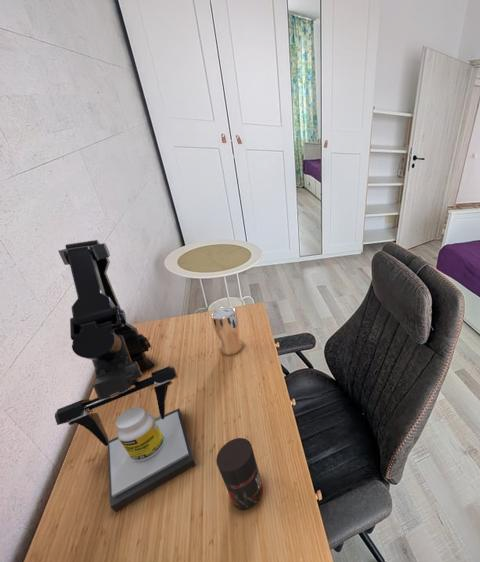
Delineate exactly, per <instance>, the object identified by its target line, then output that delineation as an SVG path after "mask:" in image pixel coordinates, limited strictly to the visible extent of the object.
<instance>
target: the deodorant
mask: <svg viewBox="0 0 480 562" xmlns="http://www.w3.org/2000/svg"><path fill="white" fill-rule="evenodd" d="M215 461H216V466H217V468H218V471H219V474H220V475H221V478H222V481H223V484H224V485H225V489H226V490H227V492H228V494H229V497H230V500H231V502H232V504H233V506H234V508H235V509H236V510H239V511H247V510H250V509H251V508H253V507H254V506H255V505H256V504H258V502H259V501H260V500H261V497H262V496H263V492H264V486H263V481H262V478H261V475H260V470H259V467H258V464H257V460H256V456H255V453H254V449H253V446H252V443H251V441H249V439H247V438H244V437H238V438H233V439H231V440H229V441H228V442H226V443H225V444H224V445H223V446H221V448H220V449H219V451H218V452H217V455H216V459H215Z"/></svg>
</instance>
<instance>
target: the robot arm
mask: <svg viewBox="0 0 480 562" xmlns="http://www.w3.org/2000/svg"><path fill="white" fill-rule="evenodd" d="M57 252H58V254H59V256H60V259H61V260H62V262H63V265H64V266H67V265H69V266H70V270H71V275H72V279H73V284H74V288H75V292H76V297H77V299H76V300H75V301H74V303H73V304H72V305H71V313H72V314H71V315H72V317H70V318H69V327H70V330H69V331H70V340H71V341H72V344H71V349H72V351H73V353H74V354H75V355H76V356H78V357H80V358H83V359H87V360H91V362H92V365H93V368H94V372H95V376H96V378H95V379H94V381H93V383H92V387H93V389H94V391H95V394H96V396H97V397H96V398H94V399H90V398H88V399H87V398H86V399H81V400H78V401H76V402H72V403H70V404H68V405H65V406H63V407H60V408H58V409H56V411H55V413H54V419H55V422H56V426H61V425H64V424H67V423H68V425H69V426H73V425H76V424H77V425H80V426H81V427H83V428H85V429H86V430H88V431H89V432H90V433H92V435H94V436H95V437H96V438H97V439H98V440H99V441H100V442H101V444H103V445H104V446H105V447H108V445H109V441H110V439H109V437H108V434H107V431H106V430H105V427H104V424H103V422H102V420H101V417H100V415H99V413H98V412H94V410H95V409H97V408H100V407H101V406H104V405H106V404H109V403H111V402H114V401H117V400H118V399H122V398H123V397H126V396H129V395H131V394H134V393H136V392H138V391H141V390H143V389H146V388H148V387H150V386H153V385H154V387H153V389H154V393H155V397H156V402H157V407H158V412H159V416H161V418H162V420H163V419H164V418H165V414H166V399H167V393H168V387H169V386H170V385H173V380H175V379H177V378H178V377H179V376H178V373H177V371H176V368H175V367H174V366H171V365H169V366H166V367H164V368H163V367H162V368H161V369H158V370H156V371H152V372H151V376H150V377H147V378H144V379H142V380H139V379H140V378H142V377H143V376H142V375H143V373H144V372H146V371H148V370H150V369H151V368H153V367H154V366H155V363H154V362H153V361H152V360H151V359H149V357H147V355H146V352H149V351H150V348H151V347H152V346H151V345H152V344H151V342H150V340H149V339H148V338H147V337H146V336H145V335H144V334H142V333H140V332H139V330H138V329H137V328H136V327H135V326H133V325H132V324H130V323H128V322H127V318H126V313H125V310H124V309H122V308H121V305H120V303H119V301H118V298H117V296H116V293H115V291H114V289H113V286H112V283H111V281H110V278H109V276H108V274H107V273H108V269H109V266H110V264H111V261H110V259H109V258H110V257H111V254H110V250H109V248H108V245H107V243H105V242H103V243H100V241H99V240H98V239H93V240H87V241H81V242H79V241H78V242H74V243H67V244H65V248H64V249H59V250H57ZM132 386H134V387H132ZM93 412H94V413H93Z"/></svg>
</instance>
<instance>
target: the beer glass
mask: <svg viewBox="0 0 480 562" xmlns="http://www.w3.org/2000/svg"><path fill="white" fill-rule="evenodd" d="M210 317H211V323H212V327H213V330H214V332H215V334H216V336H217V338H218V340H219V341H220V343H221V344H220V345H221V352H222V353H223V355H227V356H229V355H231V356H232V355H235V354H237V353H239V352H240V351H241V350H242V347H243V344H242V342H241V340H240V338H239V337H240V336H239V320H238V316H237V314H236V310H235V308H234V307H232V306H228V305H224V306H219V307H217V308H214V309H213V311H211V312H210Z"/></svg>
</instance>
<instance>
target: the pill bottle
mask: <svg viewBox="0 0 480 562" xmlns="http://www.w3.org/2000/svg"><path fill="white" fill-rule="evenodd" d="M115 427H116V429H117V430H116V437H118V439H119V441H120V442H121V444H122V445H123V447H124V448H125V450H126V451H127V453H128V454H129V456H130V457H131V458H132V459H133V460H135V461H143V460H146V459H148V458H150V457H152V456H154V455H155V454H156V453H157V452H158V451H159V450H160V449H161V447H162V446H163V443H164V437H163V435H162V433H161V431H160V429H159V427H158V425H157V423H156V421H155V417H154V415H153V414H151V413H150V412H147V411H146V410H145V409H144V408H143V407H140V406H135V407H131V408H128V409H126V410H125V411H123V412H122V413H121V414H119V416H118V417H117V418H116V420H115Z"/></svg>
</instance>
